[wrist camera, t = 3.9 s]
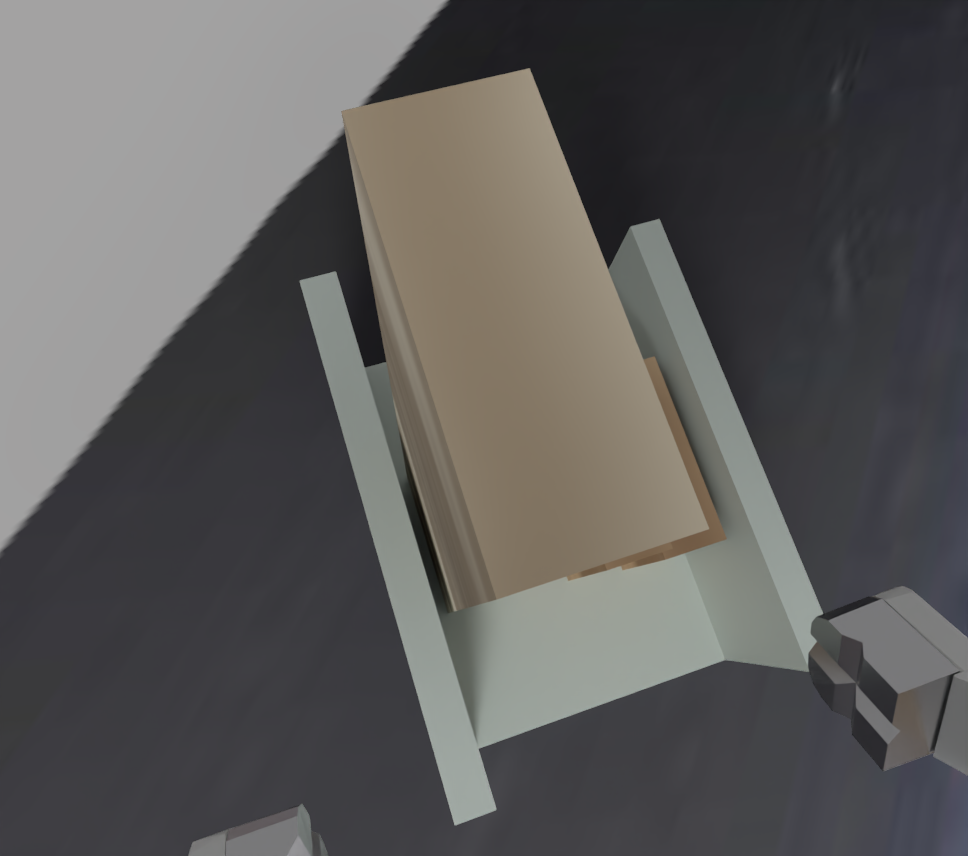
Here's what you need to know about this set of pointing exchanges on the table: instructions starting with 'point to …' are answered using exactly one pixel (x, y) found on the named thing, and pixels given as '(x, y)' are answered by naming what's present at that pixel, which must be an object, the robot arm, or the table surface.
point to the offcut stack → (715, 527)
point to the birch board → (507, 346)
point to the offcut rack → (591, 599)
